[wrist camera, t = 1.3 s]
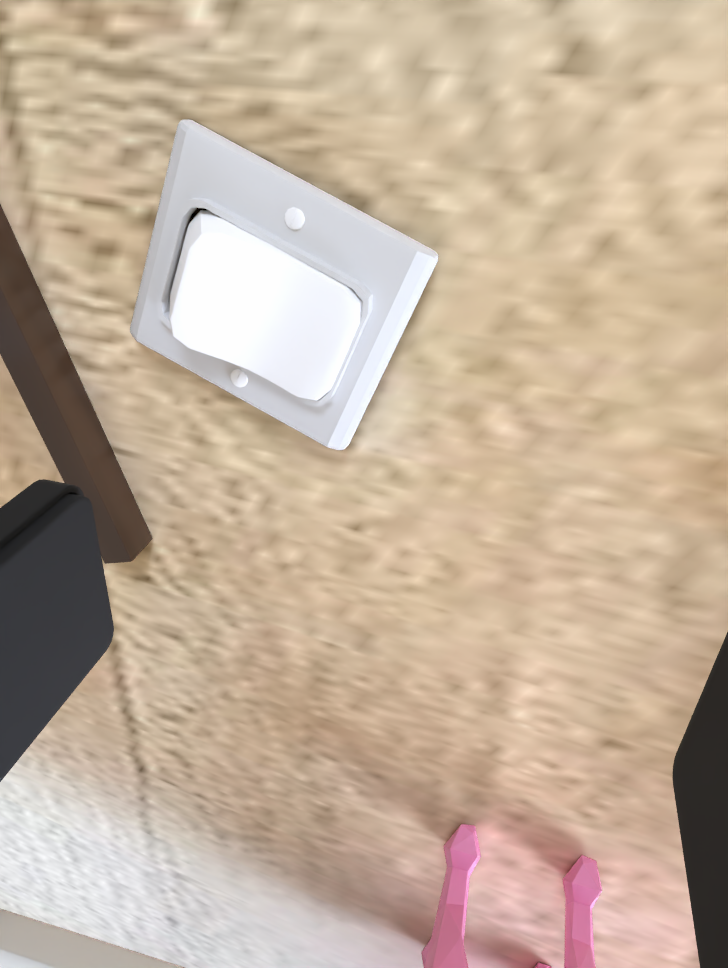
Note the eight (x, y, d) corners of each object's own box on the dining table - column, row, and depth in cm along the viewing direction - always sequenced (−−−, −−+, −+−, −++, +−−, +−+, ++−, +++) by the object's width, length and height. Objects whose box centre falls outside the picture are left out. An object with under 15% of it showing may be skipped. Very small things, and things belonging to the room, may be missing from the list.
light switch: (141, 118, 28) (422, 270, 27) (193, 116, 31) (444, 251, 31) (93, 349, 34) (324, 478, 33) (142, 326, 37) (351, 442, 37)
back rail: (-60, 72, 33) (-103, 72, 30) (153, 538, 44) (131, 561, 42) (-91, 85, 33) (-135, 85, 31) (126, 541, 44) (104, 563, 42)
